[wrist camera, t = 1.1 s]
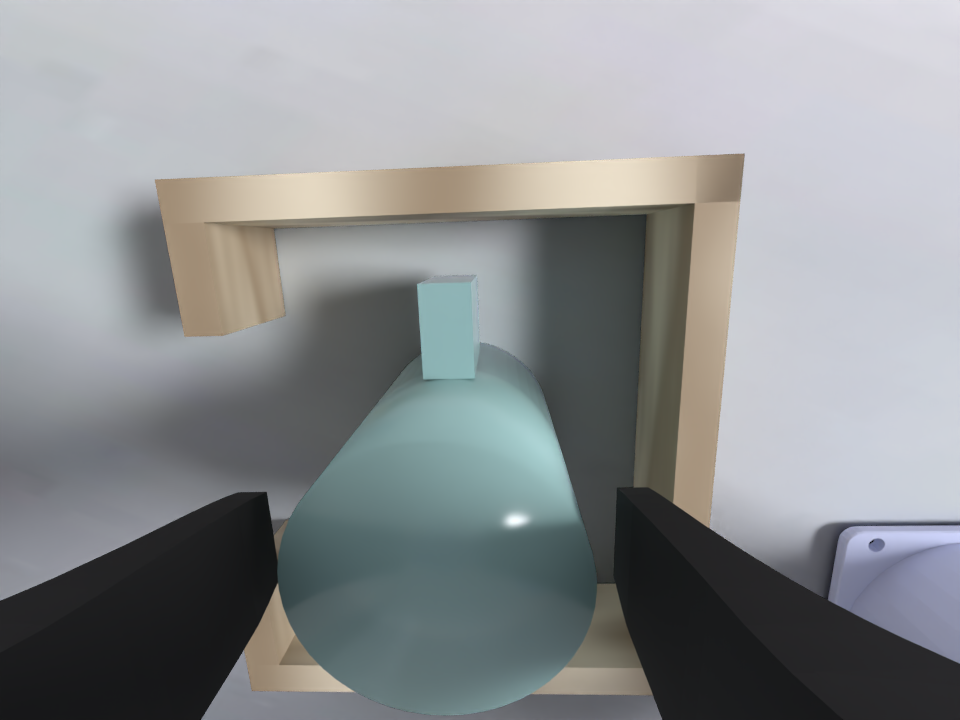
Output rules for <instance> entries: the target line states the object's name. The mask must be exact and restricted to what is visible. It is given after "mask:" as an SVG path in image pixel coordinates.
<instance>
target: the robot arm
mask: <svg viewBox="0 0 960 720" xmlns="http://www.w3.org/2000/svg"><path fill="white" fill-rule="evenodd" d="M873 539H875V540H874V542H872V543H871V544H869V543H870V542H871V541H872V540H873ZM277 568H278V560H277V554H276V547H275V541H274V535H273V529H272V523H271V516H270V510H269V504H268V498H267V492H240V493H235V494H233V495H230V496H227V497H225V498H222V499H220V500H217V501H215V502H213V503H211V504H209V505H206V506H204V507H202V508H200V509H198V510H196V511H194V512H192V513H189V514H187V515H185V516H183V517H181V518H179V519H177V520H175V521H173V522H171V523H169V524H167V525H165V526H163V527H161V528H159V529H157V530H155V531H153V532H151V533H149V534H147V535H145V536H143V537H141V538H139V539H136V540H134V541H132V542H130V543H128V544H126V545H124V546H122V547H120V548H118V549H116V550H113V551H111V552H109V553H107V554H105V555H103V556H101V557H98V558H96V559H94V560H92V561H90V562H88V563H85V564H83V565H81V566H79V567H77V568H75V569H73V570H70V571H68V572H66V573H64V574H62V575H60V576H57V577H55V578H53V579H51V580H48V581H46V582H44V583H42V584H39V585H37V586H35V587H32V588H30V589H28V590H25V591H23V592H20V593H18V594H16V595H13V596H11V597H9V598H6V599H3V600H1V601H0V720H201V719H202V717H203V715H204V714H205V712H206V711H207V709H208V707H209V706H210V704H211V702H212V701H213V699H214V698H215V696H216V694H217V693H218V691H219V690H220V688H221V686H222V685H223V683H224V681H225V680H226V678H227V677H228V675H229V673H230V672H231V670H232V669H233V667H234V665H235V664H236V662H237V660H238V659H239V657H240V655H241V654H242V652H243V650H244V649H245V647H246V645H247V644H248V642H249V641H250V639H251V637H252V635H253V634H254V632H255V630H256V629H257V627H258V625H259V623H260V621H261V619H262V617H263V615H264V613H265V610H266V608H267V606H268V604H269V602H270V600H271V597H272V595H273V593H274V590H275V588H276V586H277V584H278V574H277ZM614 579H615V583H616V587H617V591H618V595H619V599H620V603H621V607H622V611H623V615H624V618H625V622H626V626H627V628H628V631H629V634H630V637H631V639H632V642H633V644H634V647H635V650H636V652H637V655H638V658H639V660H640V663H641V665H642V668H643V671H644V673H645V676H646V678H647V681H648V683H649V686H650V689H651V691H652V694H653V696H654V699H655V701H656V704H657V707H658V709H659V712H660V714H661V717H662V720H960V525H959V526H854V527H849V528H847V529H845V530H844V531H843V532H842V533H841V534H840V537H839V539H838V545H837V551H836V557H835V562H834V568H833V574H832V580H831V586H830V592H829V597H828V600H827V599H825V598H823V597H821V596H819V595H817V594H815V593H814V592H812V591H810V590H808V589H806V588H805V587H803V586H801V585H799V584H797V583H796V582H794V581H792V580H790V579H789V578H787V577H785V576H784V575H782V574H780V573H779V572H777V571H775V570H774V569H772V568H770V567H769V566H767V565H766V564H764V563H762V562H761V561H759V560H757V559H756V558H754V557H752V556H751V555H749V554H748V553H746V552H744V551H743V550H741V549H740V548H738V547H737V546H735V545H734V544H732V543H731V542H729V541H727V540H726V539H724V538H723V537H721V536H720V535H718V534H717V533H715V532H714V531H712V530H711V529H710V528H708V527H707V526H705V525H704V524H702V523H701V522H699V521H698V520H696V519H695V518H693V517H692V516H691V515H689V514H688V513H686V512H685V511H683V510H682V509H681V508H679V507H678V506H676V505H675V504H673V503H672V502H670V501H669V500H667V499H666V498H665V497H663V496H662V495H660V494H658V493H657V492H655V491H654V490H652V489H650V488H648V487H628V488H617V504H616V528H615V553H614Z"/></svg>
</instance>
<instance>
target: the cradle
mask: <svg viewBox="0 0 960 720" xmlns="http://www.w3.org/2000/svg"><path fill="white" fill-rule="evenodd" d="M744 155H745V154H724V155H702V156H679V157H657V158H634V159H611V160H589V161H566V162H544V163H521V164H498V165H476V166H453V167H431V168H408V169H385V170H363V171H340V172H318V173H295V174H272V175H250V176H227V177H205V178H182V179H160V180H155V183H156V188H157V194H158V199H159V204H160V210H161V215H162V220H163V225H164V231H165V236H166V241H167V246H168V252H169V257H170V262H171V267H172V273H173V278H174V283H175V289H176V294H177V299H178V304H179V310H180V315H181V320H182V325H183V331H184V336H185V337H191V336H223V335H226V334H230V333H233V332H236V331H239V330H242V329H245V328H249V327H252V326H255V325H258V324H261V323H264V322H268V321H271V320H274V319H277V318H280V317H283V316H286V315H285V308H284V301H283V293H282V286H281V278H280V271H279V264H278V256H277V249H276V242H275V234H274V229H276V228H302V227H328V226H354V225H380V224H406V223H432V222H458V221H484V220H510V219H536V218H562V217H588V216H614V215H640V214H647V218H646V238H645V258H644V279H643V299H642V319H641V340H640V360H639V380H638V401H637V421H636V442H635V462H634V482H633V487H648V488H650V489H652V490H654V491H655V492H657V493H658V494H660V495H662V496H663V497H665V498H666V499H667V500H669V501H670V502H672V503H673V504H675V505H676V506H678V507H679V508H681V509H682V510H683V511H685V512H686V513H688V514H689V515H691V516H692V517H693V518H695V519H696V520H698V521H699V522H701V523H702V524H704V525H705V526H707V527H708V528H709V525H710V515H711V504H712V493H713V483H714V472H715V462H716V451H717V441H718V430H719V419H720V409H721V398H722V388H723V377H724V367H725V356H726V345H727V335H728V324H729V314H730V303H731V293H732V282H733V271H734V261H735V250H736V240H737V229H738V219H739V208H740V197H741V187H742V176H743V166H744ZM288 521H289V520H286V521H285V522H284V523H283V525H282V526H281V527H280V528H279V530H278V531H277V532H276V534H275V535H274V541H275V547H276V554H277V560H278V553H279V549H280V544H281V540H282V536H283V533H284V531H285V528H286V526H287V523H288ZM244 652H245V657H246V662H247V668H248V673H249V678H250V683H251V689H252V691H298V692H355V691H353V690H351V689H350V688H348V687H347V686H345V685H344V684H342V683H340V682H339V681H337V680H336V679H335V678H334V677H332V676H331V675H330V674H329V673H328V672H326V671H325V670H324V669H323V668H322V667H321V666H320V665H319V664H318V663H317V662H316V661H315V660H314V659H313V658H312V657H311V656H310V655H309V653H308V652H307V651H306V649H305V648H304V646H303V645H302V644H301V642H300V641H299V640H298V638H297V636H296V634H295V633H294V631H293V629H292V627H291V625H290V624H289V621H288V619H287V616H286V613H285V611H284V608H283V605H282V601H281V597H280V592H279V586H278V584H277V586H276V588H275V590H274V593H273V595H272V597H271V600H270V602H269V604H268V606H267V608H266V610H265V613H264V615H263V617H262V619H261V621H260V623H259V625H258V627H257V629H256V630H255V632H254V634H253V635H252V637H251V639H250V641H249V642H248V644H247V645H246V647H245V649H244ZM531 694H572V695H653V694H652V691H651V689H650V686H649V683H648V681H647V678H646V676H645V673H644V671H643V668H642V665H641V663H640V660H639V658H638V655H637V652H636V650H635V647H634V644H633V642H632V639H631V637H630V634H629V631H628V628H627V626H626V622H625V618H624V615H623V611H622V607H621V603H620V599H619V595H618V591H617V587H616V584H597V595H596V604H595V610H594V614H593V617H592V621H591V625H590V627H589V629H588V632H587V634H586V636H585V638H584V641H583V642H582V644H581V645H580V647H579V649H578V650H577V652H576V653H575V655H574V656H573V658H572V659H571V660H570V661H569V662H568V664H567V665H566V666H565V667H564V668H563V669H562V670H561V671H560V672H559V673H558V674H557V675H556V676H555V677H554V678H553V679H551V680H550V681H549V682H548V683H546V684H545V685H543V686H542V687H541V688H539V689H538V690H536V691H535V692H533V693H531Z"/></svg>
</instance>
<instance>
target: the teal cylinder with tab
mask: <svg viewBox="0 0 960 720" xmlns="http://www.w3.org/2000/svg"><path fill="white" fill-rule="evenodd" d="M417 293H418V308H419V323H420V338H421V353H422V354H420V355H419V356H418V357H416V358H415V359H414V360H412V361H411V362H410V363H409V364H408V365H407V366H406V367H405V369H404V370H403V371H402V372H401V374H400V375H399V376H398V377H397V379H396V380H395V381H394V382H393V384H392V385H391V386H390V388H389V389H388V390H387V391H386V393H385V394H384V395H383V396H382V398H381V399H380V400H379V401H378V403H377V404H376V405H375V407H374V408H373V409H372V410H371V412H370V413H369V414H368V415H367V417H366V418H365V419H364V420H363V422H362V423H361V424H360V426H359V427H358V428H357V429H356V431H355V432H354V433H353V434H352V436H351V437H350V438H349V440H348V441H347V442H346V443H345V445H344V446H343V447H342V448H341V450H340V451H339V452H338V453H337V455H336V456H335V457H334V459H333V460H332V461H331V462H330V464H329V465H328V466H327V467H326V469H325V470H324V471H323V473H322V474H321V475H320V476H319V478H318V479H317V480H316V481H315V483H314V484H313V485H312V486H311V488H310V489H309V490H308V492H307V493H306V494H305V495H304V497H303V498H302V499H301V500H300V502H299V503H298V505H297V506H296V508H295V510H294V512H293V513H292V515H291V517H290V518H289V521H288V523H287V526H286V528H285V531H284V533H283V536H282V540H281V544H280V549H279V553H278V568H277V574H278V586H279V592H280V597H281V601H282V605H283V608H284V611H285V613H286V616H287V619H288V621H289V624H290V625H291V627H292V629H293V631H294V633H295V634H296V636H297V638H298V640H299V641H300V642H301V644H302V645H303V646H304V648H305V649H306V651H307V652H308V653H309V655H310V656H311V657H312V658H313V659H314V660H315V661H316V662H317V663H318V664H319V665H320V666H321V667H322V668H323V669H324V670H325V671H326V672H328V673H329V674H330V675H331V676H332V677H334V678H335V679H336V680H337V681H339V682H340V683H342V684H344V685H345V686H347V687H348V688H350V689H351V690H353V691H355V692H357V693H358V694H360V695H362V696H364V697H366V698H368V699H370V700H373V701H375V702H378V703H381V704H383V705H386V706H389V707H392V708H396V709H400V710H403V711H408V712H414V713H420V714H427V715H442V716H446V715H465V714H472V713H479V712H484V711H488V710H492V709H496V708H500V707H502V706H505V705H508V704H510V703H513V702H515V701H518V700H520V699H522V698H524V697H526V696H527V695H529V694H531V693H533V692H535V691H536V690H538V689H539V688H541V687H542V686H543V685H545V684H546V683H548V682H549V681H550V680H551V679H553V678H554V677H555V676H556V675H557V674H558V673H559V672H560V671H561V670H562V669H563V668H564V667H565V666H566V665H567V664H568V662H569V661H570V660H571V659H572V658H573V656H574V655H575V653H576V652H577V650H578V649H579V647H580V645H581V644H582V642H583V641H584V638H585V636H586V634H587V632H588V629H589V627H590V625H591V621H592V617H593V614H594V610H595V604H596V595H597V577H596V567H595V563H594V558H593V553H592V549H591V546H590V543H589V540H588V536H587V533H586V530H585V527H584V523H583V520H582V517H581V514H580V510H579V507H578V504H577V501H576V497H575V494H574V491H573V488H572V484H571V481H570V478H569V475H568V471H567V468H566V465H565V462H564V458H563V455H562V452H561V449H560V445H559V442H558V439H557V436H556V432H555V429H554V426H553V423H552V419H551V416H550V413H549V410H548V406H547V403H546V400H545V397H544V394H543V391H542V389H541V387H540V385H539V383H538V381H537V379H536V378H535V377H534V375H533V374H532V372H531V371H530V370H529V369H528V368H527V367H526V366H525V365H524V364H523V363H522V362H521V361H520V360H519V359H517V358H516V357H515V356H513V355H512V354H510V353H508V352H507V351H505V350H503V349H500V348H498V347H496V346H493V345H490V344H486V343H481V342H480V337H479V308H478V280H477V275H453V276H434V277H432V278H430V279H427V280H425V281H423V282H420V283H418V284H417Z"/></svg>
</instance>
